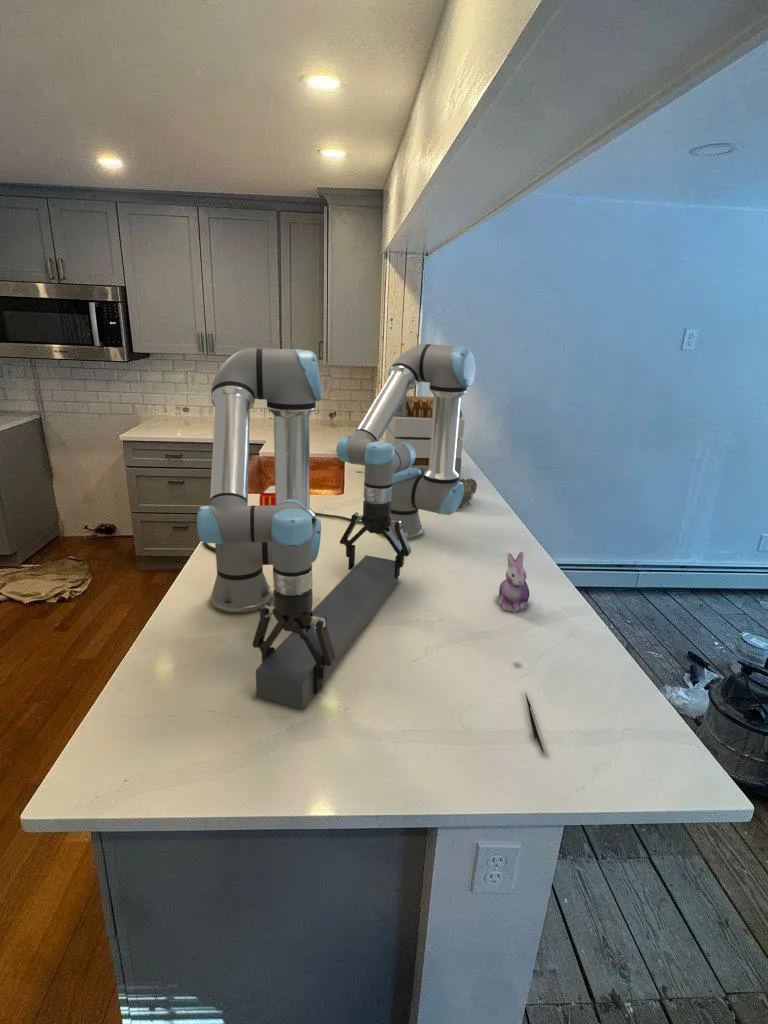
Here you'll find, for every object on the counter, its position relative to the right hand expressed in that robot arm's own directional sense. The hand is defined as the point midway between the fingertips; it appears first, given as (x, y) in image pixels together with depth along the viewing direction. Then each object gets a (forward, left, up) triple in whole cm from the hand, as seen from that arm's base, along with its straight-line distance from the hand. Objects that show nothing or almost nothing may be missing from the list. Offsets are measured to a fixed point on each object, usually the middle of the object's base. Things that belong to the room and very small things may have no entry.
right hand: (373, 572), depth 159 cm
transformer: (-79, +94, -5) cm, 123 cm away
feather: (+58, -7, -5) cm, 59 cm away
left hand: (+24, -41, -4) cm, 48 cm away
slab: (+12, -20, -5) cm, 24 cm away
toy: (-63, +7, -5) cm, 64 cm away
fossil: (-37, +77, -5) cm, 86 cm away
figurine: (+30, +25, -5) cm, 39 cm away
